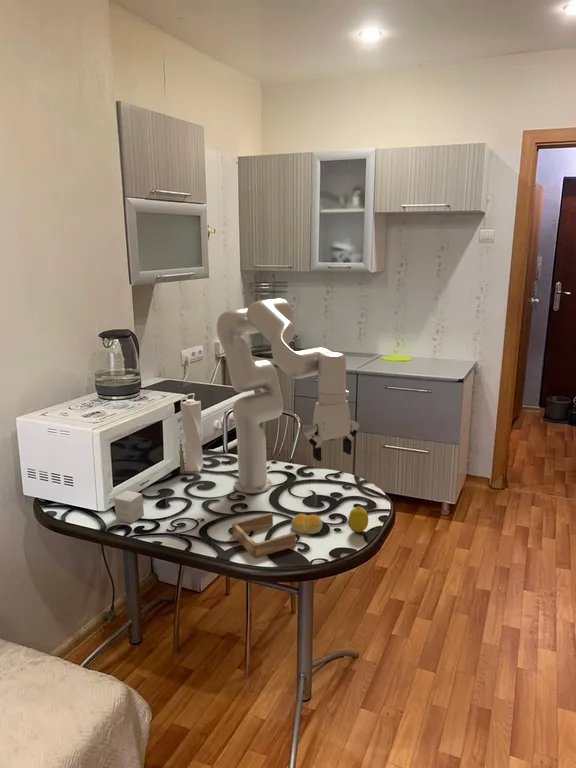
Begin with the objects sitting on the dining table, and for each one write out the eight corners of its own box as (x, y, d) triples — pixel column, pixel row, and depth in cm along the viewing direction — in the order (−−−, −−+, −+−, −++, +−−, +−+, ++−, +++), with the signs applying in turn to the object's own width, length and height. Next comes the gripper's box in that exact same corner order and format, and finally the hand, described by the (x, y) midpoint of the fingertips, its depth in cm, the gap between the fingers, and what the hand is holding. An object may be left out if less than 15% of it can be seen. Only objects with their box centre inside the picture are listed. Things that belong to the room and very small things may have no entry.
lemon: (366, 527, 171) (366, 502, 169) (369, 537, 166) (370, 511, 164) (347, 528, 171) (347, 502, 169) (350, 537, 165) (350, 511, 163)
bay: (232, 534, 168) (231, 523, 167) (271, 523, 174) (271, 512, 173) (254, 558, 156) (254, 546, 155) (295, 545, 162) (295, 533, 161)
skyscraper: (185, 464, 220) (181, 392, 213) (207, 465, 219) (203, 392, 212) (179, 473, 212) (174, 399, 205) (201, 474, 211) (197, 399, 204)
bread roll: (294, 520, 176) (294, 508, 175) (324, 523, 174) (324, 511, 173) (287, 533, 169) (287, 520, 168) (318, 537, 166) (318, 524, 165)
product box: (144, 515, 181) (142, 493, 179) (131, 524, 175) (129, 501, 174) (128, 511, 183) (126, 490, 182) (115, 520, 178) (113, 498, 176)
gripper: (351, 390, 168) (350, 446, 172) (297, 399, 161) (299, 458, 165) (366, 396, 162) (365, 454, 166) (311, 405, 154) (312, 466, 158)
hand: (332, 456), depth 165 cm, fingers open, 9 cm apart
